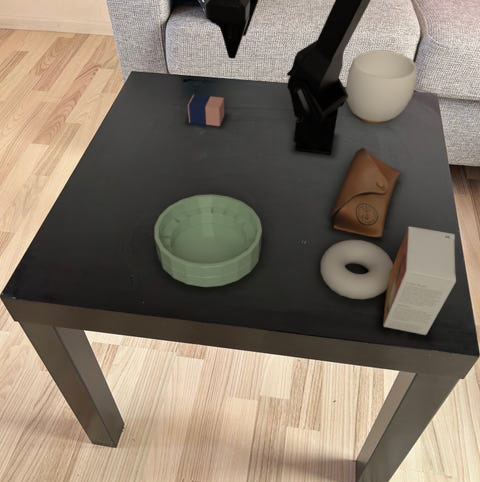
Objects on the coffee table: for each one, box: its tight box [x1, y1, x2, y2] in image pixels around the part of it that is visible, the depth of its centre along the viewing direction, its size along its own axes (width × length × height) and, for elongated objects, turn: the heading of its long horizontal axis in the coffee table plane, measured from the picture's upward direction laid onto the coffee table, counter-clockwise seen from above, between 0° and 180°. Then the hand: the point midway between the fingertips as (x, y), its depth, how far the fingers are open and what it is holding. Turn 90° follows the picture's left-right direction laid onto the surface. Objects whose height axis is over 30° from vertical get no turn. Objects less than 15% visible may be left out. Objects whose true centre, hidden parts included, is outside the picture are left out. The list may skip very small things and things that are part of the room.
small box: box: [382, 226, 457, 336], centre depth 59 cm, size 8×6×10 cm
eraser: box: [187, 94, 225, 127], centre depth 90 cm, size 6×4×4 cm
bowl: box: [154, 193, 263, 288], centre depth 68 cm, size 15×15×4 cm
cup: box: [345, 49, 417, 124], centre depth 89 cm, size 12×12×10 cm
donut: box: [320, 239, 394, 300], centre depth 65 cm, size 10×4×10 cm
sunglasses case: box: [329, 147, 402, 239], centre depth 76 cm, size 18×7×7 cm
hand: (237, 46), depth 84 cm, fingers open, 9 cm apart
